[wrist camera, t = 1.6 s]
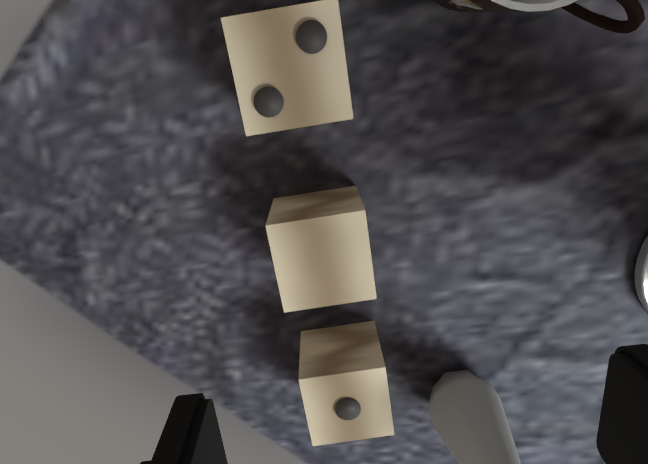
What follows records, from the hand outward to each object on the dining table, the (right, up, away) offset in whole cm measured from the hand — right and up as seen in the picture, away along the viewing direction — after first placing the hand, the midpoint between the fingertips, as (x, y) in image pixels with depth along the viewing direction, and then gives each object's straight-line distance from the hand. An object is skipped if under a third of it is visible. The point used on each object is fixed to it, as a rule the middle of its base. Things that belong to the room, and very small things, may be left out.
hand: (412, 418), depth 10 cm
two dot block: (-4, +15, +19) cm, 24 cm away
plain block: (-2, +5, +22) cm, 23 cm away
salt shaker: (+9, -9, +28) cm, 31 cm away
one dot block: (-1, -6, +26) cm, 27 cm away
